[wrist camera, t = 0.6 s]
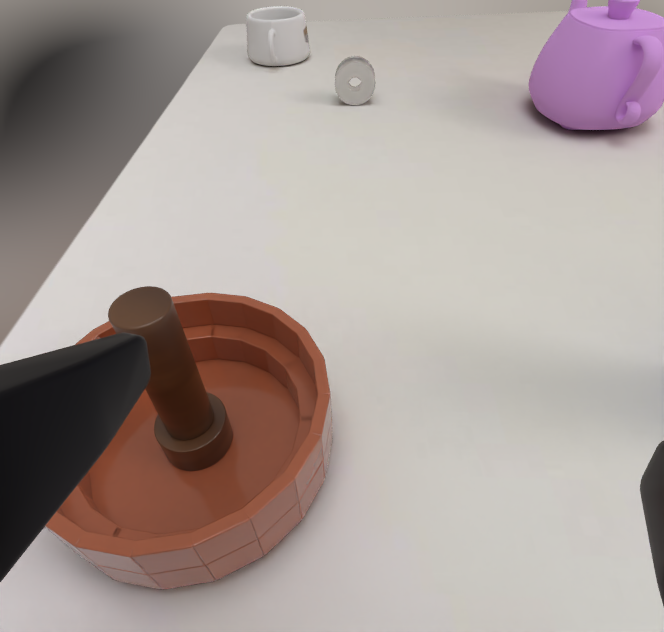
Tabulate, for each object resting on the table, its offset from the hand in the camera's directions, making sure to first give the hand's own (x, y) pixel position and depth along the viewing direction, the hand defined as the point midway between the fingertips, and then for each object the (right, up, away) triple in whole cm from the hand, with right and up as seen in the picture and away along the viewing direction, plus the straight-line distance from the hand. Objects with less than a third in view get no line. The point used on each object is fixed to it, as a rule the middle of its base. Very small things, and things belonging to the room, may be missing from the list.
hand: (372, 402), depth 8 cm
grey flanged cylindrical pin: (-8, -5, +17) cm, 19 cm away
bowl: (-8, -6, +17) cm, 20 cm away
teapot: (+29, +26, +48) cm, 62 cm away
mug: (-9, +41, +64) cm, 77 cm away
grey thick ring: (+2, +29, +52) cm, 60 cm away
